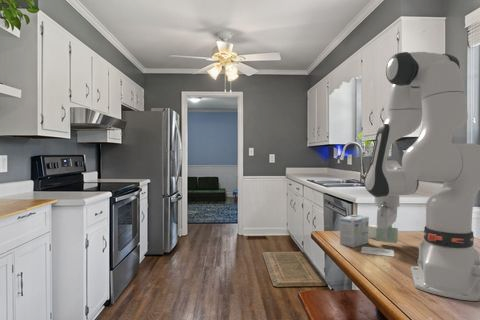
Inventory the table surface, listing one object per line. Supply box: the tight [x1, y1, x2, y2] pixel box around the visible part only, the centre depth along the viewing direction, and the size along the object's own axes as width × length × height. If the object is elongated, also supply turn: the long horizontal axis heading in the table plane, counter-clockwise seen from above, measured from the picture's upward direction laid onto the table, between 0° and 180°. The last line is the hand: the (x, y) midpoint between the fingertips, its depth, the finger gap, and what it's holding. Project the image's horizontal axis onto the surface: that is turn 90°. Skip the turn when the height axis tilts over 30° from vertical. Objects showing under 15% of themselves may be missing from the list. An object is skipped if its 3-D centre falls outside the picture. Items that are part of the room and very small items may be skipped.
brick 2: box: [375, 227, 399, 244], centre depth 123 cm, size 4×7×5 cm, turn 55°
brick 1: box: [369, 224, 377, 239], centre depth 136 cm, size 4×7×5 cm, turn 55°
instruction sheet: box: [360, 245, 395, 258], centre depth 116 cm, size 8×11×1 cm
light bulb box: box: [339, 214, 369, 249], centre depth 126 cm, size 11×7×11 cm, turn 128°
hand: (387, 236), depth 123 cm, fingers closed on brick 2, 4 cm apart
